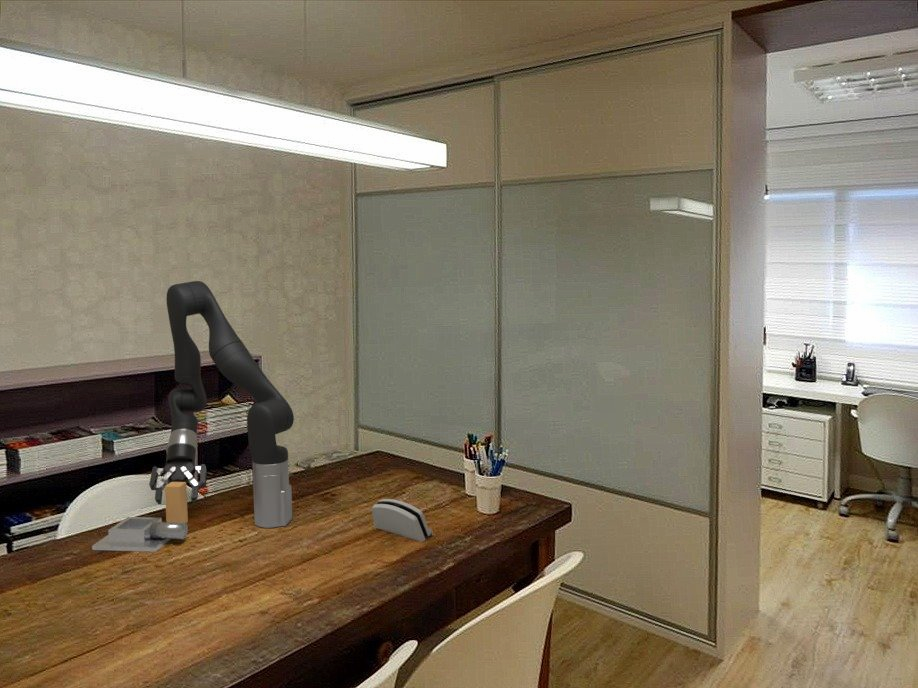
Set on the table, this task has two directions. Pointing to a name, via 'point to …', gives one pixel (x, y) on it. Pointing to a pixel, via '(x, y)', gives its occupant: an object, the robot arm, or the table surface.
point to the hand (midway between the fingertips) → (176, 502)
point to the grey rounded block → (400, 519)
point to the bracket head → (141, 534)
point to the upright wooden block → (176, 502)
